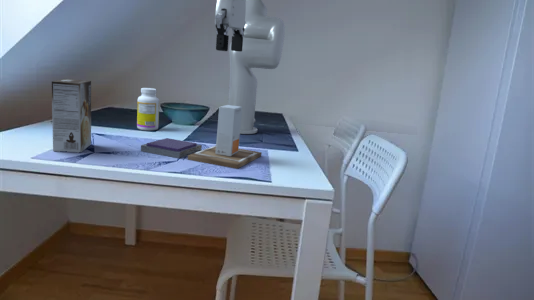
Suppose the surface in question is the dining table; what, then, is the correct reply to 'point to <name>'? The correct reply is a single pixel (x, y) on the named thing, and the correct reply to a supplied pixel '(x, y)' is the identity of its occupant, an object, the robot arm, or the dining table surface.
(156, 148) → the ink pad
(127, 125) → the dining table surface
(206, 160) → the wooden tray
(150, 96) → the supplement bottle
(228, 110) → the skincare box
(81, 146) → the coffee box
